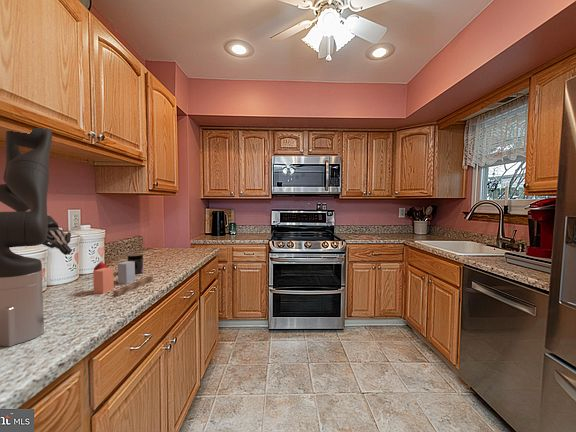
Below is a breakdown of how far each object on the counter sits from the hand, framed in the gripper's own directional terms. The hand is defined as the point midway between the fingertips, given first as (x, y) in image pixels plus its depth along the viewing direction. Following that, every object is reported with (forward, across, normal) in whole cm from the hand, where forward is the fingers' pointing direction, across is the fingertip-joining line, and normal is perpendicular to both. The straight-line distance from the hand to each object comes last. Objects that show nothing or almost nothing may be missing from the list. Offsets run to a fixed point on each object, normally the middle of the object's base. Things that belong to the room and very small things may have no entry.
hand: (68, 253), depth 103 cm
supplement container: (+17, +26, +5) cm, 32 cm away
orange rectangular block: (+21, 0, 0) cm, 21 cm away
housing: (+24, +6, -1) cm, 24 cm away
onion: (+8, +20, +15) cm, 26 cm away
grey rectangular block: (+21, +12, 0) cm, 24 cm away
